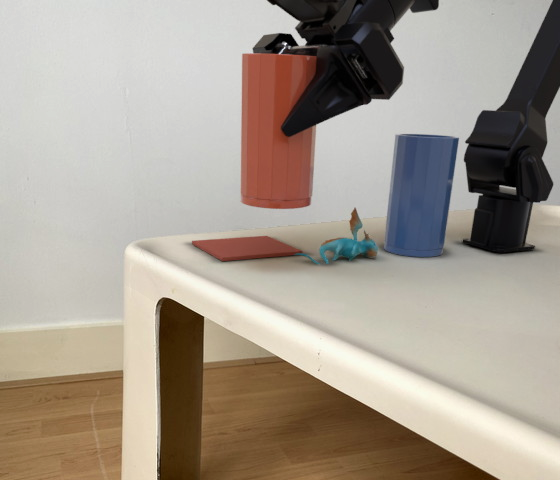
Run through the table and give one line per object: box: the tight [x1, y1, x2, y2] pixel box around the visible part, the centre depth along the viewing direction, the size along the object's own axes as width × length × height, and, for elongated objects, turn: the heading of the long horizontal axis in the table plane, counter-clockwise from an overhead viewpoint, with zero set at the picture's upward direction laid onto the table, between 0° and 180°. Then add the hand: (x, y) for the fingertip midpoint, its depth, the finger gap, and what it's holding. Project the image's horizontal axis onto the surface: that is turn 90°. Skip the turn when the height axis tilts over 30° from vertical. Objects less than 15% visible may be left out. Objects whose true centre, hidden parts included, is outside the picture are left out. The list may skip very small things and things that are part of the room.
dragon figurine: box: [293, 207, 379, 265], centre depth 70 cm, size 7×7×8 cm
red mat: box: [191, 235, 304, 262], centre depth 73 cm, size 10×9×1 cm
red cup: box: [239, 52, 317, 210], centre depth 60 cm, size 7×7×13 cm
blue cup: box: [383, 133, 460, 258], centre depth 73 cm, size 7×7×13 cm
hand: (264, 130), depth 59 cm, fingers closed on red cup, 7 cm apart
